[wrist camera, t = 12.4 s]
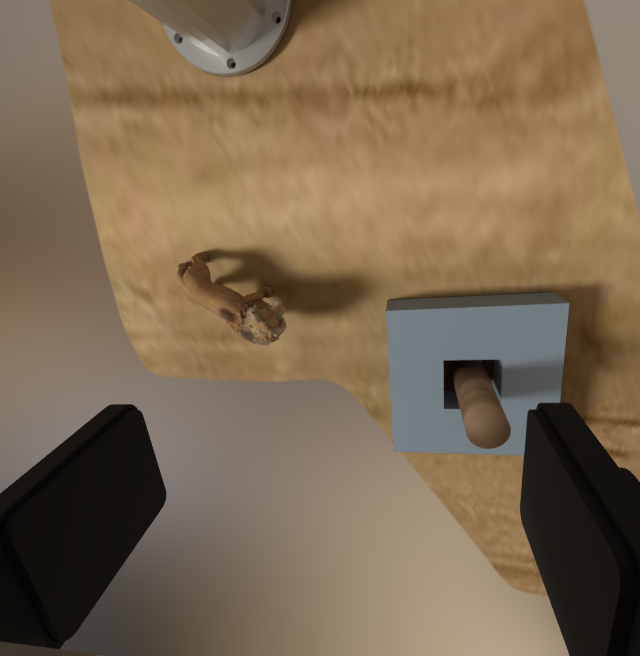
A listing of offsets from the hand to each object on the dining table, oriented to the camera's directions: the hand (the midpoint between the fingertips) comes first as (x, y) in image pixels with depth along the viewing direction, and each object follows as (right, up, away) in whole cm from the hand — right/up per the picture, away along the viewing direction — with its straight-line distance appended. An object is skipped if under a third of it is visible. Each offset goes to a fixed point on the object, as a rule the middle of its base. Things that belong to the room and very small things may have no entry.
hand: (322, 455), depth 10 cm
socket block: (+16, -1, +34) cm, 37 cm away
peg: (+16, -1, +34) cm, 37 cm away
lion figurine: (-8, +8, +36) cm, 38 cm away
